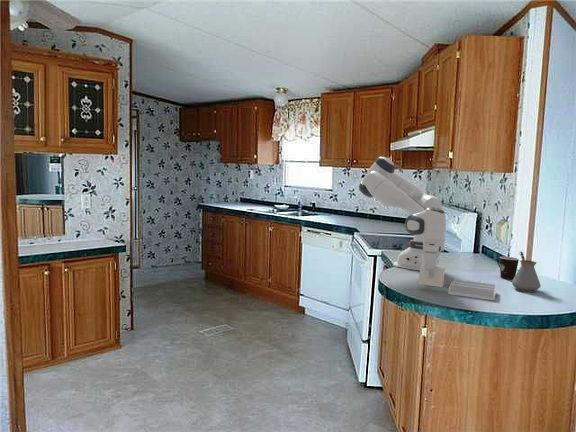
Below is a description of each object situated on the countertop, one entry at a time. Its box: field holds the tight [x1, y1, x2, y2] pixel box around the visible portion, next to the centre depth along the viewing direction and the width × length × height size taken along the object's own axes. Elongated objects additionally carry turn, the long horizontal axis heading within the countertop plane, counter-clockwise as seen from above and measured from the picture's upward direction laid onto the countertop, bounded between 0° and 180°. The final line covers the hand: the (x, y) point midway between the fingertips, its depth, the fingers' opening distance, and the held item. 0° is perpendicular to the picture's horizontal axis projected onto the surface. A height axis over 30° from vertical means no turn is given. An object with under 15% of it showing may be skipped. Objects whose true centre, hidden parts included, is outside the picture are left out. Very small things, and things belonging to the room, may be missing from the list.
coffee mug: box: [496, 256, 520, 281], centre depth 233 cm, size 12×9×10 cm
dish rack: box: [447, 278, 497, 301], centre depth 200 cm, size 18×13×4 cm
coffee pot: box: [511, 250, 542, 293], centre depth 214 cm, size 21×12×15 cm, turn 164°
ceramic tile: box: [418, 265, 446, 288], centre depth 205 cm, size 10×2×8 cm, turn 65°
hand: (431, 276), depth 205 cm, fingers closed on ceramic tile, 2 cm apart
